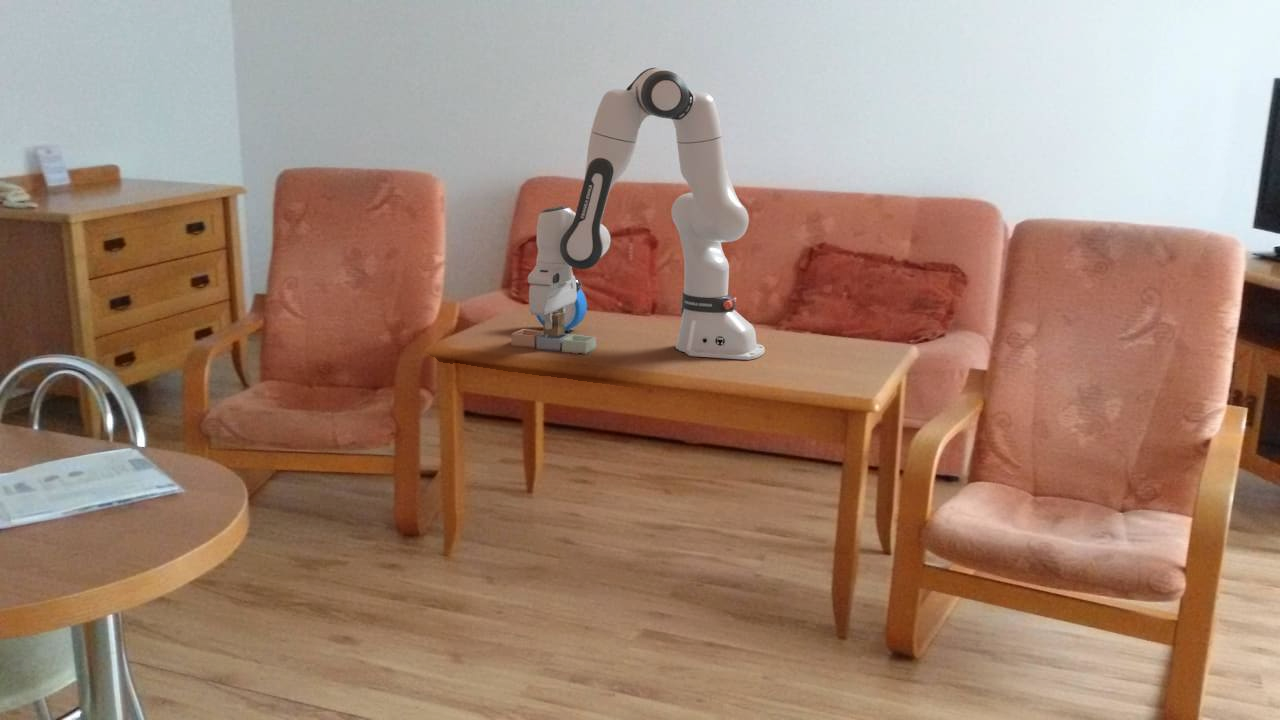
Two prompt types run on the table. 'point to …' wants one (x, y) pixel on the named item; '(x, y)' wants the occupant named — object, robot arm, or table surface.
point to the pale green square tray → (578, 344)
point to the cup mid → (551, 341)
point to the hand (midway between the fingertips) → (553, 326)
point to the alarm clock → (573, 309)
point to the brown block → (556, 324)
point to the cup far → (526, 338)
